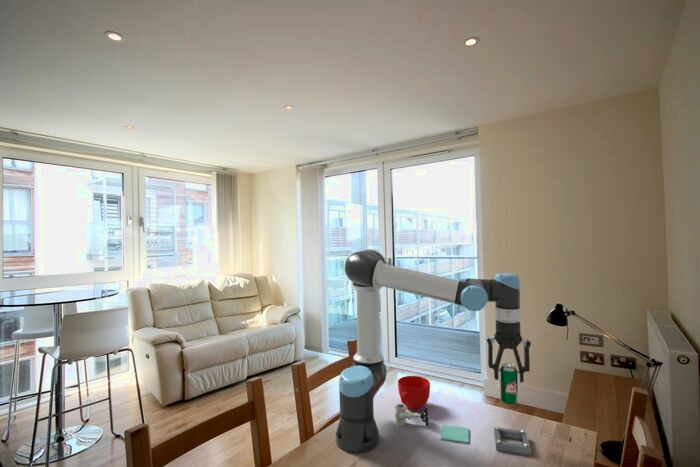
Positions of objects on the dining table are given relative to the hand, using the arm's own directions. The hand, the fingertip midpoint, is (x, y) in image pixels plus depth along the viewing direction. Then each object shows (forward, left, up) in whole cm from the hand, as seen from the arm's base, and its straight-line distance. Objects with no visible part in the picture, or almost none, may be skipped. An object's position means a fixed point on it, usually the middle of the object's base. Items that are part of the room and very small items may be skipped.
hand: (508, 390), depth 119 cm
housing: (0, 0, -18) cm, 18 cm away
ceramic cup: (-35, +16, -18) cm, 42 cm away
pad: (-18, +1, -18) cm, 25 cm away
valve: (-33, +4, -18) cm, 38 cm away
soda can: (0, 0, -4) cm, 4 cm away
